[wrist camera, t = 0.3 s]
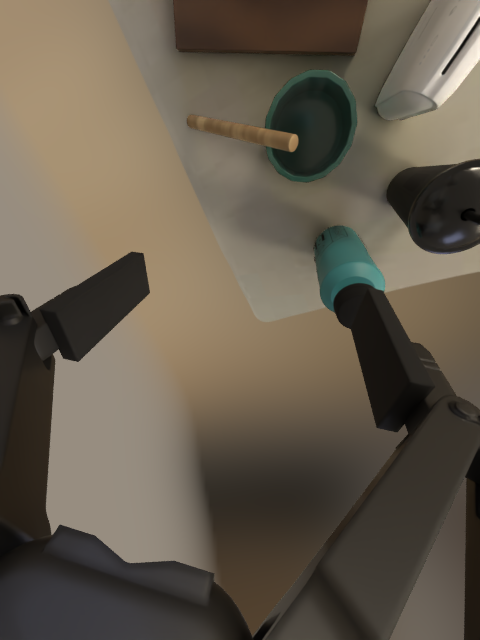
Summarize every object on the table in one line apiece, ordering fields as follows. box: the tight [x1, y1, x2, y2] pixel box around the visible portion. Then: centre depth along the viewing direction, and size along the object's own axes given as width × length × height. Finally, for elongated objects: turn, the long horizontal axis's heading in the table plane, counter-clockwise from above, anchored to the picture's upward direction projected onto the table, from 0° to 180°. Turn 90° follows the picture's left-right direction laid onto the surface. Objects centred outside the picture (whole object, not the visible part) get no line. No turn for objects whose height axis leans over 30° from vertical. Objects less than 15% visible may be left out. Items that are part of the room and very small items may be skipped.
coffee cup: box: [265, 70, 357, 182], centre depth 28 cm, size 9×9×8 cm
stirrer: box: [187, 115, 298, 152], centre depth 28 cm, size 1×13×13 cm
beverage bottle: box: [313, 225, 385, 329], centre depth 30 cm, size 6×7×20 cm
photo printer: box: [375, 0, 480, 120], centre depth 21 cm, size 10×4×12 cm, turn 158°
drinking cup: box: [387, 159, 480, 254], centre depth 24 cm, size 8×8×20 cm
